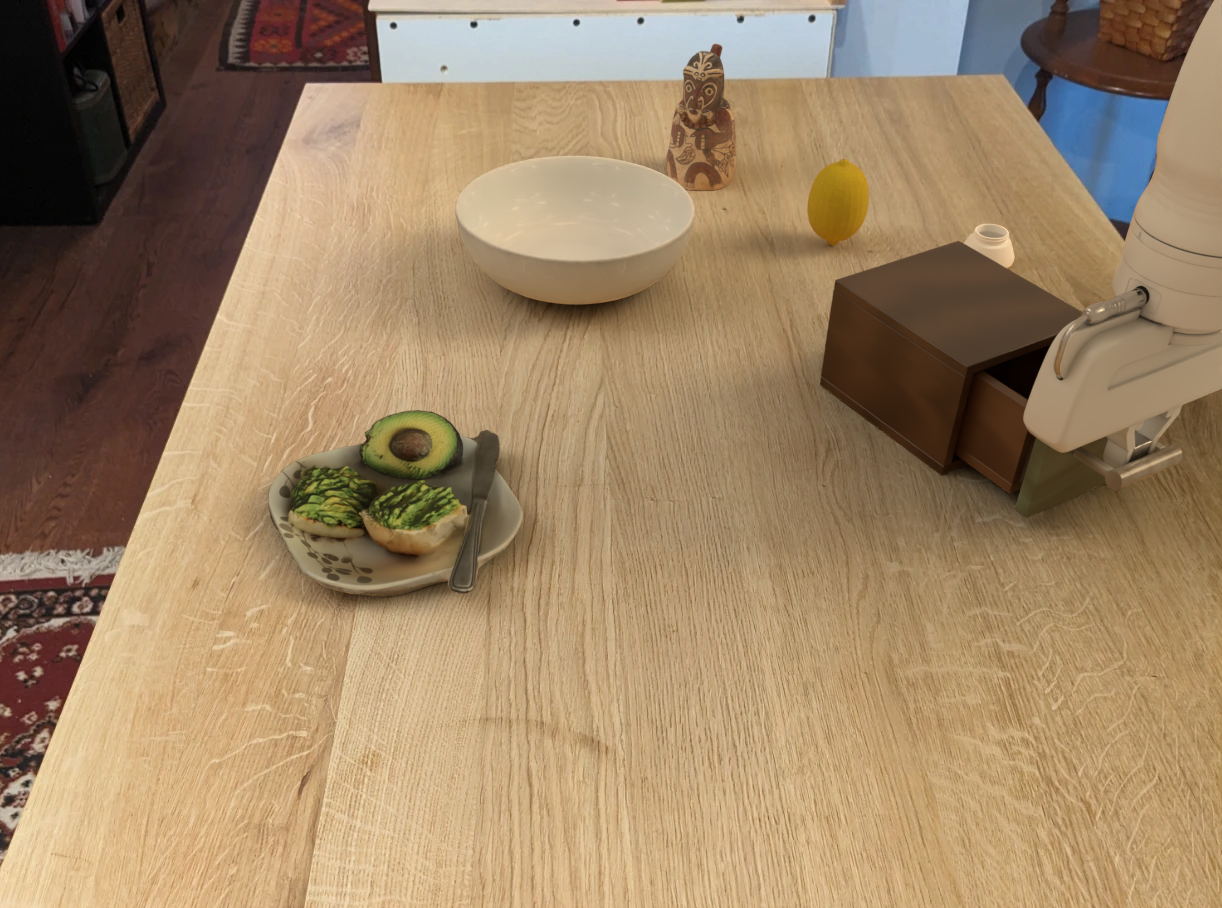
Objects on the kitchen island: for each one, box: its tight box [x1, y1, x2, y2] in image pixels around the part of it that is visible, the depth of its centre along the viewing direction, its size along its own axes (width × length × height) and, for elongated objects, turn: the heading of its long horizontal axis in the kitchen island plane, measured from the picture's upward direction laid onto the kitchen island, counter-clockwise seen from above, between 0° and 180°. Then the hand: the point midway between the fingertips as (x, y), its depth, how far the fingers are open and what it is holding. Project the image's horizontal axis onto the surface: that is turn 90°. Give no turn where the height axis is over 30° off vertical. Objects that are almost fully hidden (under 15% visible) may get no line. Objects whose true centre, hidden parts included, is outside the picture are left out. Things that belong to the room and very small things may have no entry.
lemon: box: [807, 158, 870, 246], centre depth 118 cm, size 6×6×8 cm
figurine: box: [665, 43, 738, 191], centre depth 127 cm, size 7×7×12 cm
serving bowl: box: [454, 155, 696, 305], centre depth 113 cm, size 21×21×7 cm
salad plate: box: [267, 409, 524, 598], centre depth 89 cm, size 19×18×5 cm
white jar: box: [963, 223, 1016, 269], centre depth 117 cm, size 5×3×5 cm
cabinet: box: [819, 240, 1083, 476], centre depth 98 cm, size 15×13×9 cm
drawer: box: [954, 345, 1184, 519], centre depth 92 cm, size 18×11×7 cm, turn 31°
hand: (1125, 460), depth 88 cm, fingers closed, pressing on drawer
